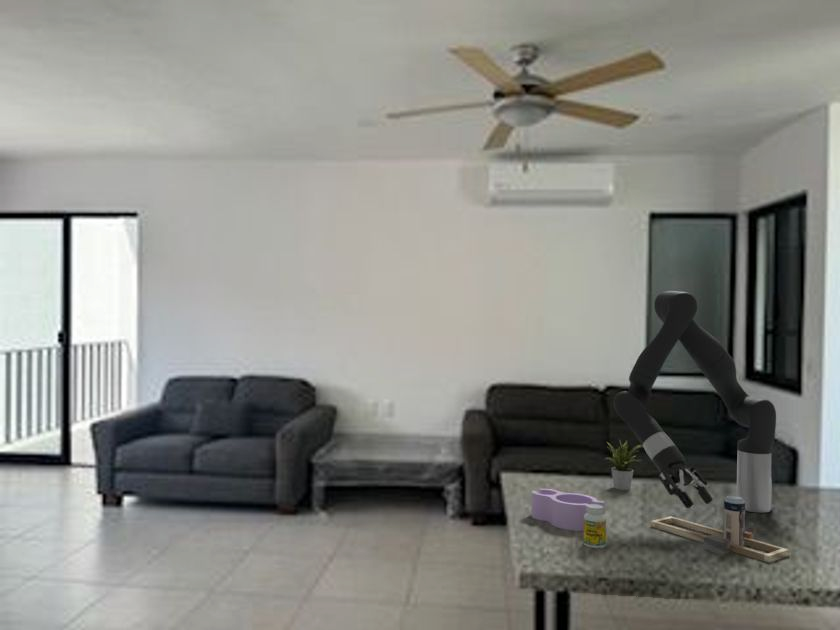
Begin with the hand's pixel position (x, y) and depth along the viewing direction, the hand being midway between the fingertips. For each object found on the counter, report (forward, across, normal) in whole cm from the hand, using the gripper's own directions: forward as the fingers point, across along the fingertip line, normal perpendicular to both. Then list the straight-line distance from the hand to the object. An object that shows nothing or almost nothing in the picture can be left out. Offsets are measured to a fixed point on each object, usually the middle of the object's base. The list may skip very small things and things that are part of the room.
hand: (700, 504), depth 179 cm
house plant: (-24, +24, +36) cm, 50 cm away
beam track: (+9, -1, +3) cm, 9 cm away
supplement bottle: (-1, -30, +12) cm, 32 cm away
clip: (-13, -21, +25) cm, 35 cm away
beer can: (+12, 0, -1) cm, 12 cm away
